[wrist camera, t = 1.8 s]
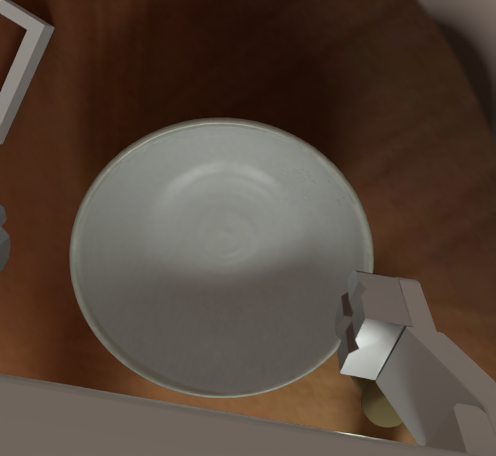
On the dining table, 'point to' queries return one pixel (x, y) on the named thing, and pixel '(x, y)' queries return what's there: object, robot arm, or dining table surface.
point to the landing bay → (21, 61)
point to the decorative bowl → (218, 256)
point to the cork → (376, 403)
